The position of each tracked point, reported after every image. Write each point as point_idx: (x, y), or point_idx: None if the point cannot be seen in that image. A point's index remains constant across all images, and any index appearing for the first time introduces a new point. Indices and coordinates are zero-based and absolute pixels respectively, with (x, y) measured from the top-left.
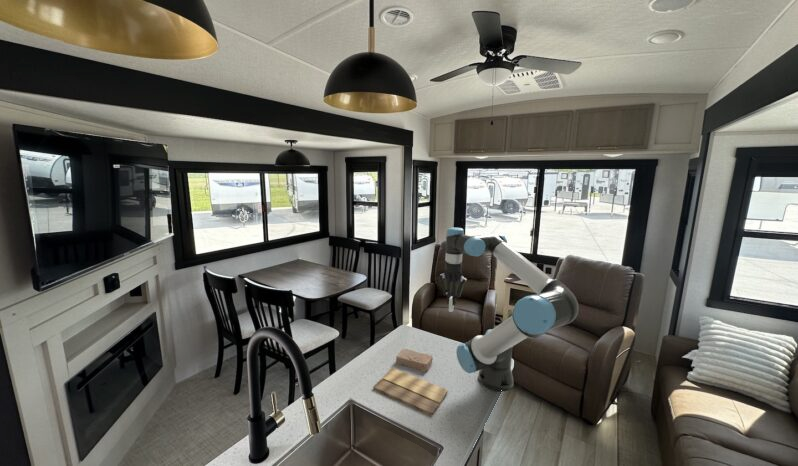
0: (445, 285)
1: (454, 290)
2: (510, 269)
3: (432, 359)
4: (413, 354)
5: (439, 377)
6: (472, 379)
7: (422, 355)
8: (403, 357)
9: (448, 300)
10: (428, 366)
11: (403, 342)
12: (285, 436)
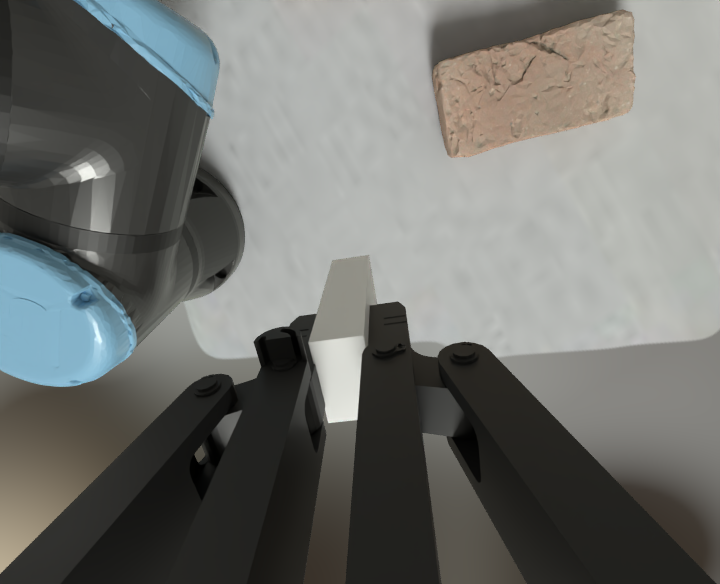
0: (534, 556)
1: (234, 473)
2: None
3: (447, 152)
4: (549, 100)
5: (362, 77)
6: (245, 171)
7: (500, 123)
8: (587, 29)
9: (387, 328)
10: (434, 84)
11: (662, 211)
12: None
